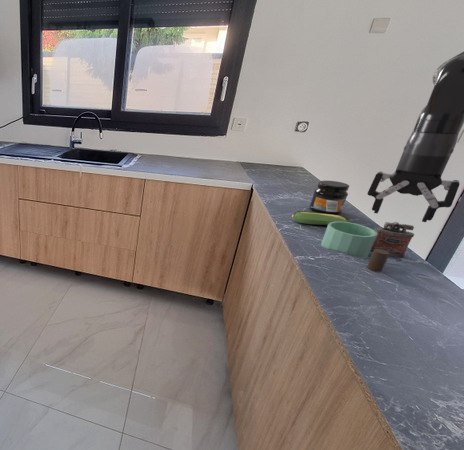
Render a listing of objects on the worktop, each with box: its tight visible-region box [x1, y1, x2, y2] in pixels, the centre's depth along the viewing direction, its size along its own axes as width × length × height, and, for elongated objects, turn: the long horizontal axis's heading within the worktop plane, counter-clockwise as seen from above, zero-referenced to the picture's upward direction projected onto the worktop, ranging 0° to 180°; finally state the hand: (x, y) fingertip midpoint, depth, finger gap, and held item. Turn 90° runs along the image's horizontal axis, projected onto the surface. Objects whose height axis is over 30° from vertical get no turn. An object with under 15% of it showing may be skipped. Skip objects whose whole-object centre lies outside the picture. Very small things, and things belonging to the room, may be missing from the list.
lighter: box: [370, 221, 415, 258], centre depth 94 cm, size 8×3×10 cm, turn 55°
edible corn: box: [291, 210, 352, 226], centre depth 115 cm, size 5×20×5 cm, turn 70°
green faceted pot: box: [320, 221, 378, 259], centre depth 97 cm, size 11×11×8 cm
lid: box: [366, 249, 390, 273], centre depth 84 cm, size 12×12×7 cm
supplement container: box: [309, 180, 350, 216], centre depth 126 cm, size 10×10×12 cm
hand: (399, 216), depth 78 cm, fingers open, 8 cm apart
